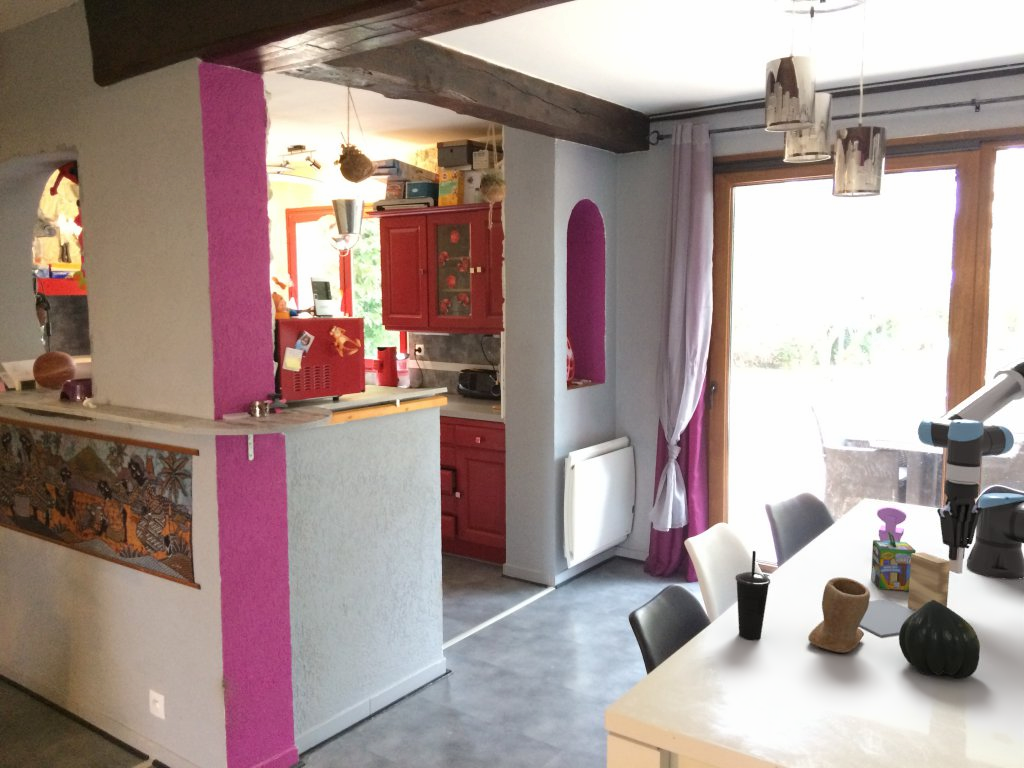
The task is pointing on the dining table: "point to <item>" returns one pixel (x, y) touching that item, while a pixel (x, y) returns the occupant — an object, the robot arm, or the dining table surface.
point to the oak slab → (928, 580)
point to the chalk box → (891, 564)
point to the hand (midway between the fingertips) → (955, 571)
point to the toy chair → (891, 523)
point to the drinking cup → (751, 602)
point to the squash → (939, 641)
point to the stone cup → (841, 615)
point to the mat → (885, 617)
